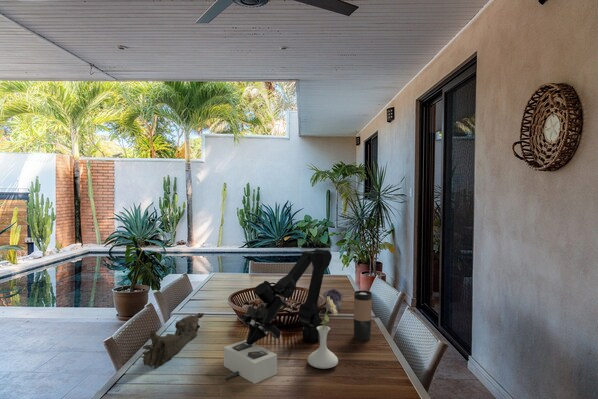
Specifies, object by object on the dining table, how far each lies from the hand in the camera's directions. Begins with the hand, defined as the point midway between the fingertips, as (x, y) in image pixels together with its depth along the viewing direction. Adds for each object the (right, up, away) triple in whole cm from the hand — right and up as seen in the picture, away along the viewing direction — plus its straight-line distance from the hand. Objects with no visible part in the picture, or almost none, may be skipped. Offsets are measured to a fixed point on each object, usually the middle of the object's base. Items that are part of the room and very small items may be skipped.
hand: (246, 345), depth 146 cm
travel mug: (+47, -7, +28) cm, 55 cm away
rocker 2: (+5, 0, -8) cm, 9 cm away
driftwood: (-29, -6, +14) cm, 33 cm away
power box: (0, -7, -6) cm, 10 cm away
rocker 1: (-1, 0, -2) cm, 2 cm away
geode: (+38, -6, +72) cm, 81 cm away
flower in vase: (+29, -8, +1) cm, 30 cm away
